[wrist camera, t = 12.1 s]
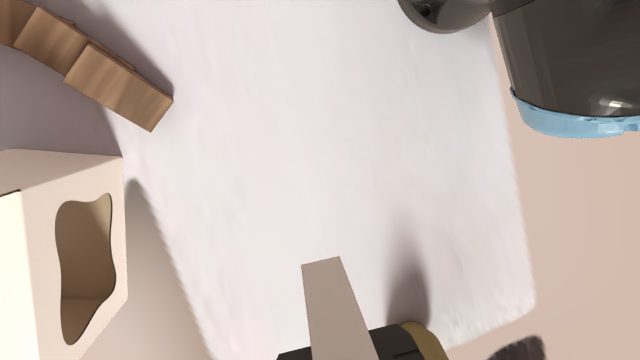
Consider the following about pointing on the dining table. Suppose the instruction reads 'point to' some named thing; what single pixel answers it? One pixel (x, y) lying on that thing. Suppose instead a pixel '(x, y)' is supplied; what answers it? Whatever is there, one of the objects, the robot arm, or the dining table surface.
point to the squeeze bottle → (425, 341)
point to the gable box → (59, 251)
